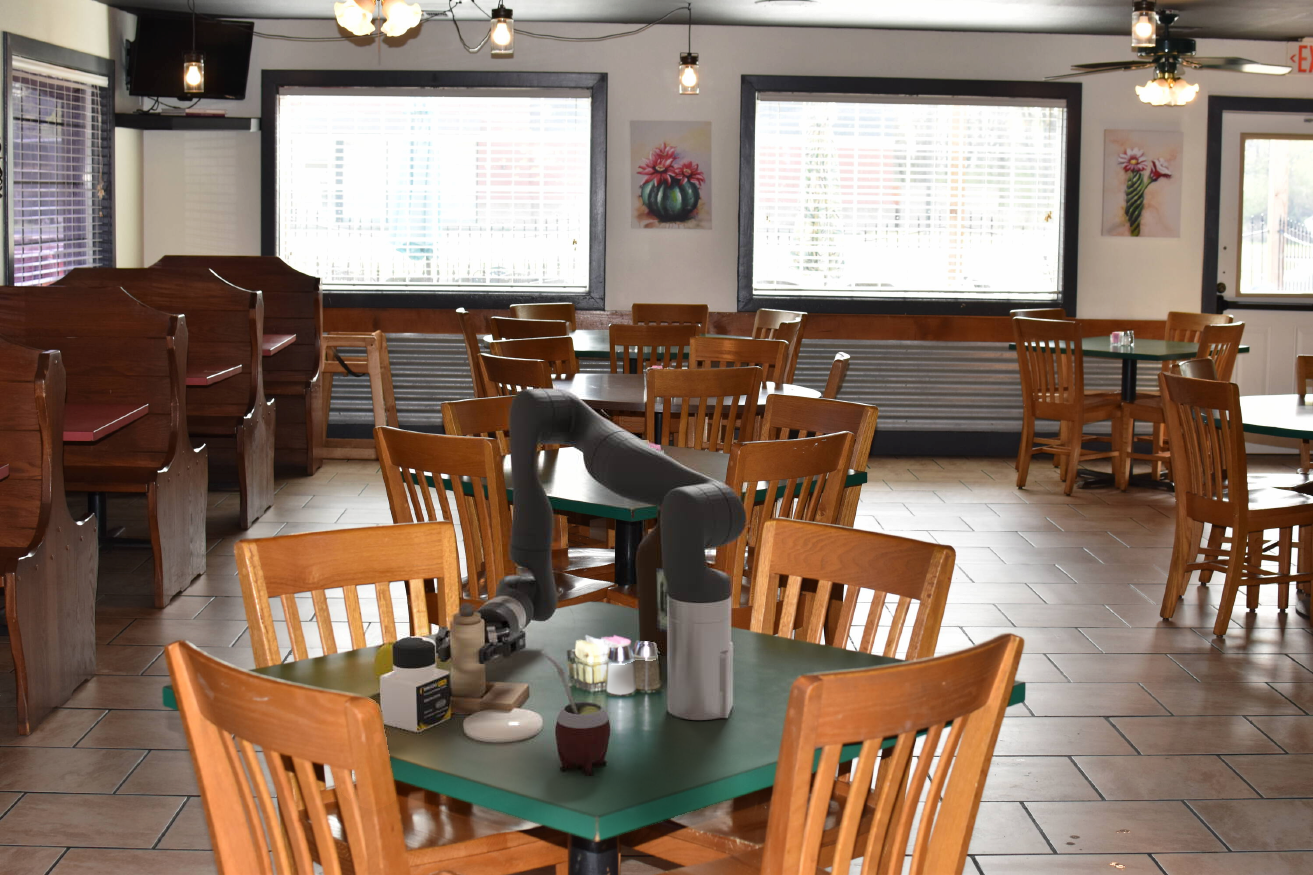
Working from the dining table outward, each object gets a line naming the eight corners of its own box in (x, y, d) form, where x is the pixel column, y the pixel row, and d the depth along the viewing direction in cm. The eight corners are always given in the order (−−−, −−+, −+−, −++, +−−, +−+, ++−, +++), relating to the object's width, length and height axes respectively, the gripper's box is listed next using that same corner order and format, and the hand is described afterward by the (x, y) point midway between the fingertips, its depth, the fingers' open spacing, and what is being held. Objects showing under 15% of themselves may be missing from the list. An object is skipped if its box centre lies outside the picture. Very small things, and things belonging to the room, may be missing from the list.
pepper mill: (490, 698, 198) (488, 599, 196) (479, 710, 193) (477, 608, 191) (458, 696, 199) (455, 597, 197) (447, 708, 194) (444, 606, 192)
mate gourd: (617, 773, 169) (616, 660, 167) (558, 782, 167) (556, 667, 164) (599, 753, 176) (598, 644, 174) (542, 761, 174) (540, 650, 171)
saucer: (551, 716, 190) (551, 710, 190) (530, 744, 179) (529, 737, 179) (477, 712, 192) (477, 705, 192) (452, 739, 181) (452, 732, 181)
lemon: (403, 699, 198) (402, 647, 197) (368, 696, 199) (367, 645, 198) (417, 687, 203) (416, 636, 202) (383, 685, 204) (381, 634, 203)
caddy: (529, 696, 199) (529, 683, 198) (512, 717, 190) (512, 703, 190) (446, 691, 201) (446, 678, 201) (426, 711, 192) (425, 698, 192)
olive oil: (626, 642, 226) (625, 498, 223) (683, 635, 231) (683, 493, 227) (650, 659, 217) (650, 509, 213) (709, 651, 221) (709, 504, 217)
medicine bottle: (418, 733, 184) (415, 650, 182) (380, 724, 187) (377, 642, 186) (452, 718, 190) (449, 637, 188) (414, 709, 193) (412, 629, 192)
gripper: (452, 599, 209) (414, 629, 193) (540, 603, 207) (509, 633, 190) (453, 645, 210) (415, 678, 194) (541, 649, 208) (509, 684, 191)
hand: (462, 656), depth 192 cm, fingers open, 5 cm apart
